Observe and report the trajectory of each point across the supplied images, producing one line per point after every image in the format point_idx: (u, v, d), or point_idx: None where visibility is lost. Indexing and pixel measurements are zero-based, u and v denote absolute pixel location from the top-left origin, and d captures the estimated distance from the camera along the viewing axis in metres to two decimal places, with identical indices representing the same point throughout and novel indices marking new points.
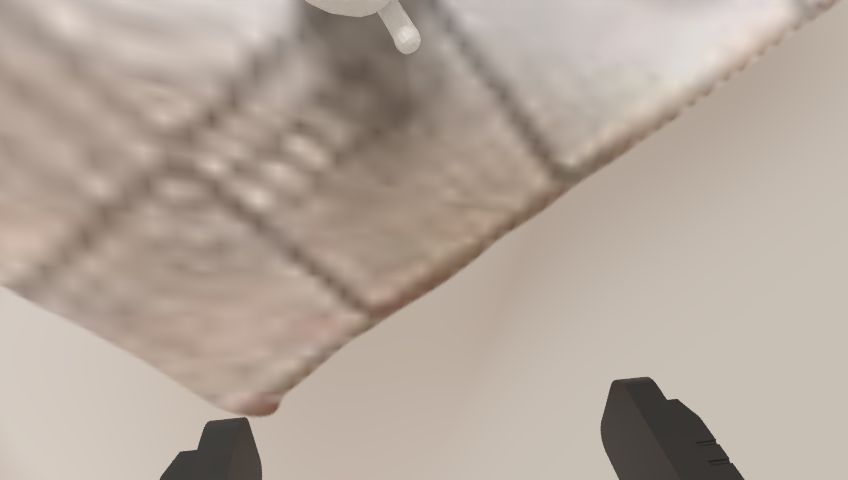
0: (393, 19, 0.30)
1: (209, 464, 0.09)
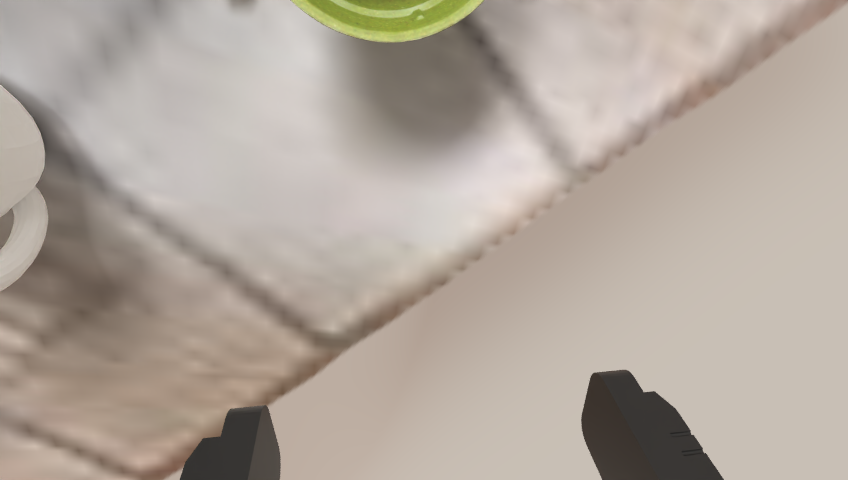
0: (12, 229, 0.25)
1: (233, 449, 0.09)
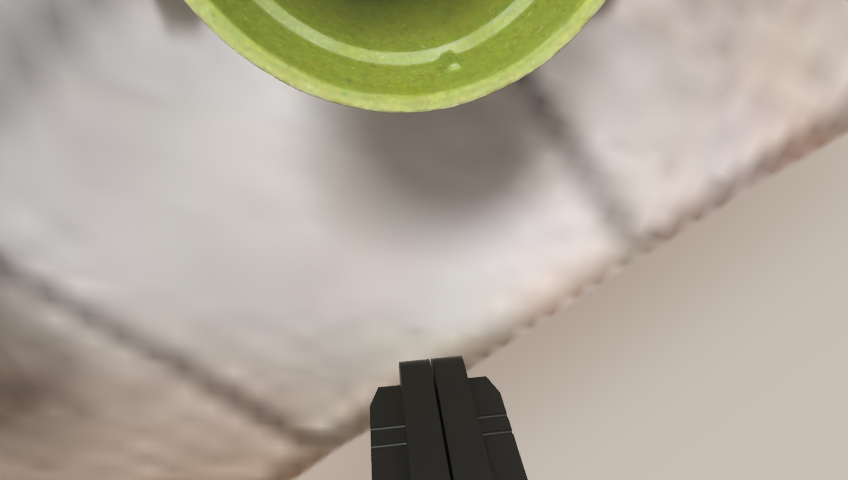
0: None
1: (417, 394, 0.10)
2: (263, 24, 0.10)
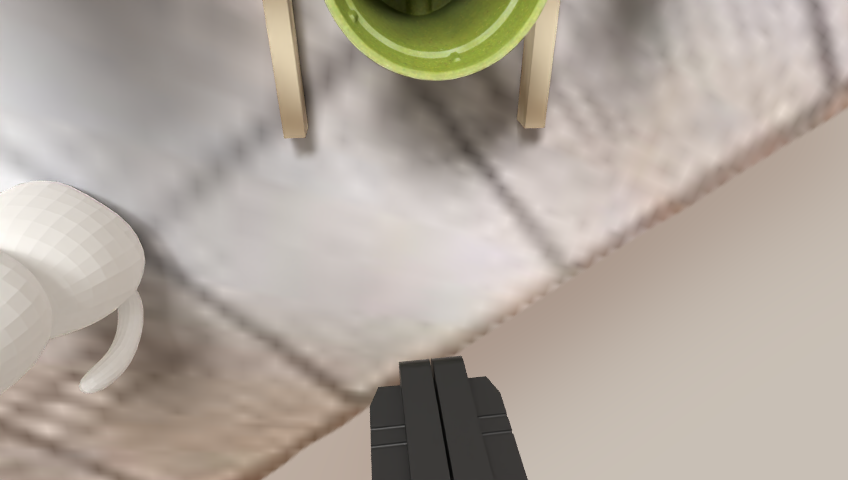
0: (119, 323, 0.31)
1: (417, 394, 0.10)
2: (365, 35, 0.21)
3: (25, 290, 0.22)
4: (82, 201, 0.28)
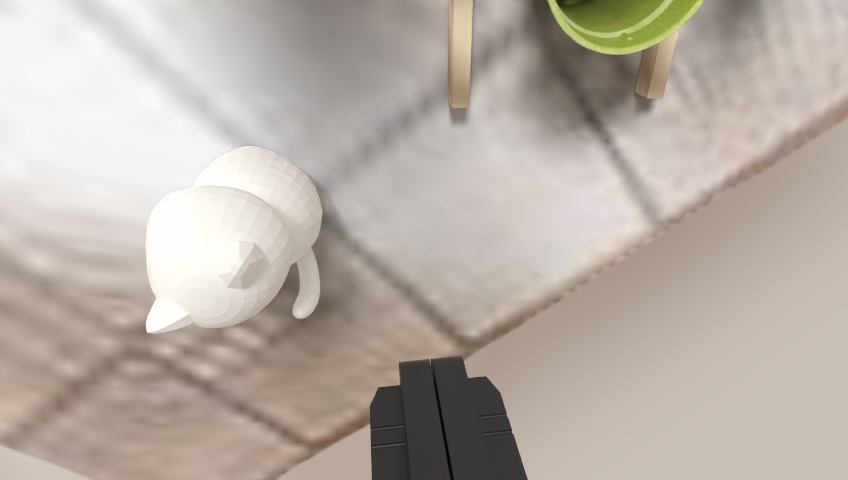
0: (301, 267, 0.37)
1: (417, 394, 0.10)
2: None
3: (284, 226, 0.28)
4: (288, 162, 0.34)
